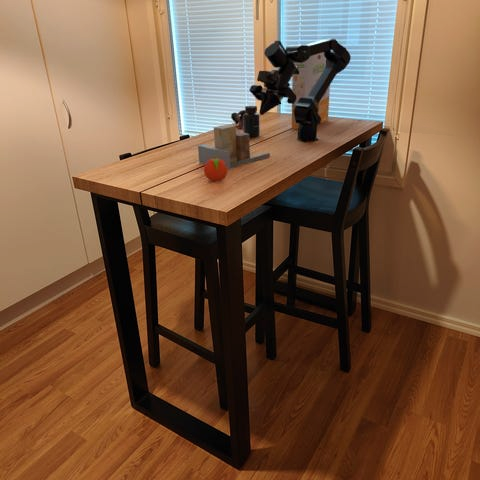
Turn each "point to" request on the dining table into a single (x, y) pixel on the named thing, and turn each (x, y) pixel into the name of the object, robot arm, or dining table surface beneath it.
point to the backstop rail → (223, 156)
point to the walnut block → (242, 146)
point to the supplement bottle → (251, 121)
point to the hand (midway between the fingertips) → (260, 114)
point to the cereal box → (310, 85)
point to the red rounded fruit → (215, 169)
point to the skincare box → (226, 140)
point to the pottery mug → (238, 118)
